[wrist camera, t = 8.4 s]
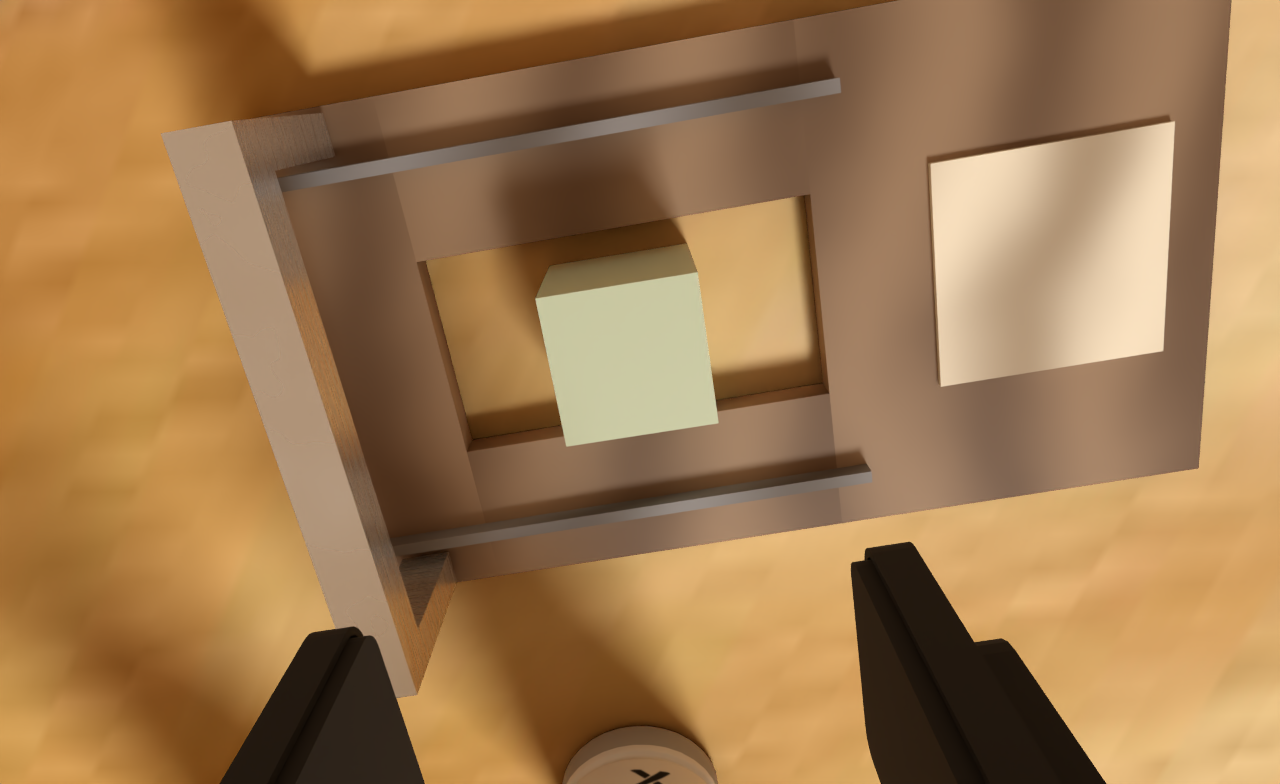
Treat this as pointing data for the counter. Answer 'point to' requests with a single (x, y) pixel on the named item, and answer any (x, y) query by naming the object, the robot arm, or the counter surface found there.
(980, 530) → the counter surface
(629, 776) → the travel mug
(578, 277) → the block
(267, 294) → the gate
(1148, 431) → the board
